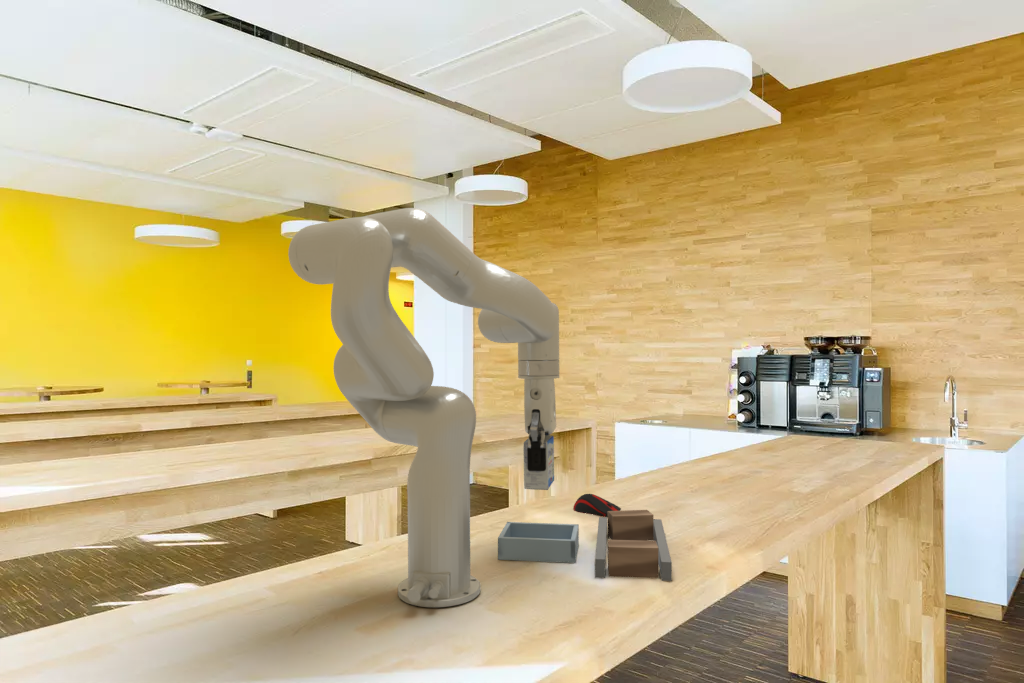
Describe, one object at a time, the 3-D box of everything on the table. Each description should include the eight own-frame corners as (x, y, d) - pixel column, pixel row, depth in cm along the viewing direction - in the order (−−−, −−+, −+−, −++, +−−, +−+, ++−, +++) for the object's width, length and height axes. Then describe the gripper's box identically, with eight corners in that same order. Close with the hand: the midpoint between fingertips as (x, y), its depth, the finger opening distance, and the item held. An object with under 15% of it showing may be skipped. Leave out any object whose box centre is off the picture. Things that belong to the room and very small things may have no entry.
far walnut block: (653, 540, 132) (653, 514, 132) (612, 542, 131) (612, 516, 131) (647, 534, 136) (647, 509, 136) (607, 536, 135) (607, 511, 135)
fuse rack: (671, 581, 110) (671, 562, 110) (595, 577, 112) (594, 559, 112) (661, 534, 136) (661, 519, 136) (599, 532, 137) (599, 517, 137)
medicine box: (548, 490, 121) (548, 441, 121) (523, 489, 122) (523, 440, 122) (554, 481, 129) (554, 435, 128) (531, 480, 129) (530, 434, 129)
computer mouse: (608, 520, 148) (608, 501, 148) (568, 511, 155) (568, 493, 155) (624, 514, 152) (624, 496, 152) (584, 506, 160) (584, 489, 160)
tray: (575, 562, 119) (575, 541, 119) (497, 559, 121) (497, 537, 121) (578, 544, 129) (578, 524, 129) (507, 541, 131) (507, 521, 131)
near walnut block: (658, 578, 111) (658, 548, 111) (608, 577, 112) (608, 546, 112) (655, 570, 115) (655, 540, 115) (607, 569, 116) (607, 539, 116)
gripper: (555, 372, 116) (555, 476, 116) (563, 367, 133) (563, 457, 133) (511, 372, 117) (512, 475, 117) (524, 367, 134) (525, 457, 134)
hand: (539, 465), depth 125 cm, fingers closed on medicine box, 8 cm apart
